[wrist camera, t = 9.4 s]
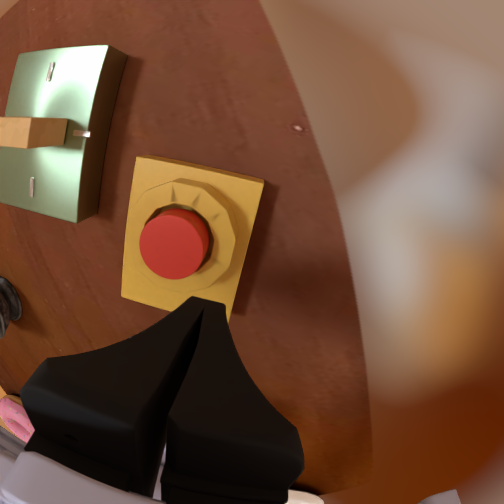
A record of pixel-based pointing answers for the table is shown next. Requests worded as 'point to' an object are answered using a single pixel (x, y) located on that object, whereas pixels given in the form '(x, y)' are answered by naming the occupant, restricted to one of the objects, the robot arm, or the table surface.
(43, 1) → the table surface
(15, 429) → the doughnut
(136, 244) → the button block
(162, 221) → the button
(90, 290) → the table surface
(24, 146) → the handle
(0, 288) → the salt shaker
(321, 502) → the plate
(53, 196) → the panel
